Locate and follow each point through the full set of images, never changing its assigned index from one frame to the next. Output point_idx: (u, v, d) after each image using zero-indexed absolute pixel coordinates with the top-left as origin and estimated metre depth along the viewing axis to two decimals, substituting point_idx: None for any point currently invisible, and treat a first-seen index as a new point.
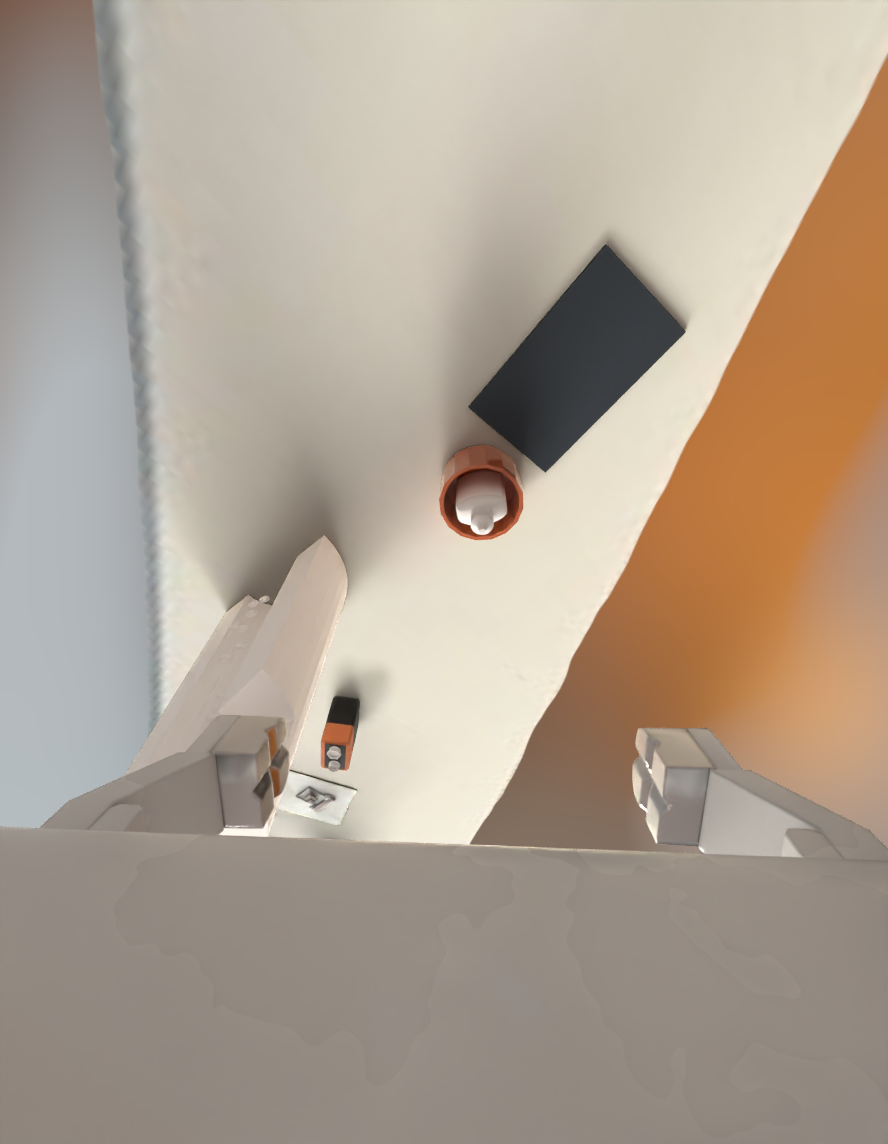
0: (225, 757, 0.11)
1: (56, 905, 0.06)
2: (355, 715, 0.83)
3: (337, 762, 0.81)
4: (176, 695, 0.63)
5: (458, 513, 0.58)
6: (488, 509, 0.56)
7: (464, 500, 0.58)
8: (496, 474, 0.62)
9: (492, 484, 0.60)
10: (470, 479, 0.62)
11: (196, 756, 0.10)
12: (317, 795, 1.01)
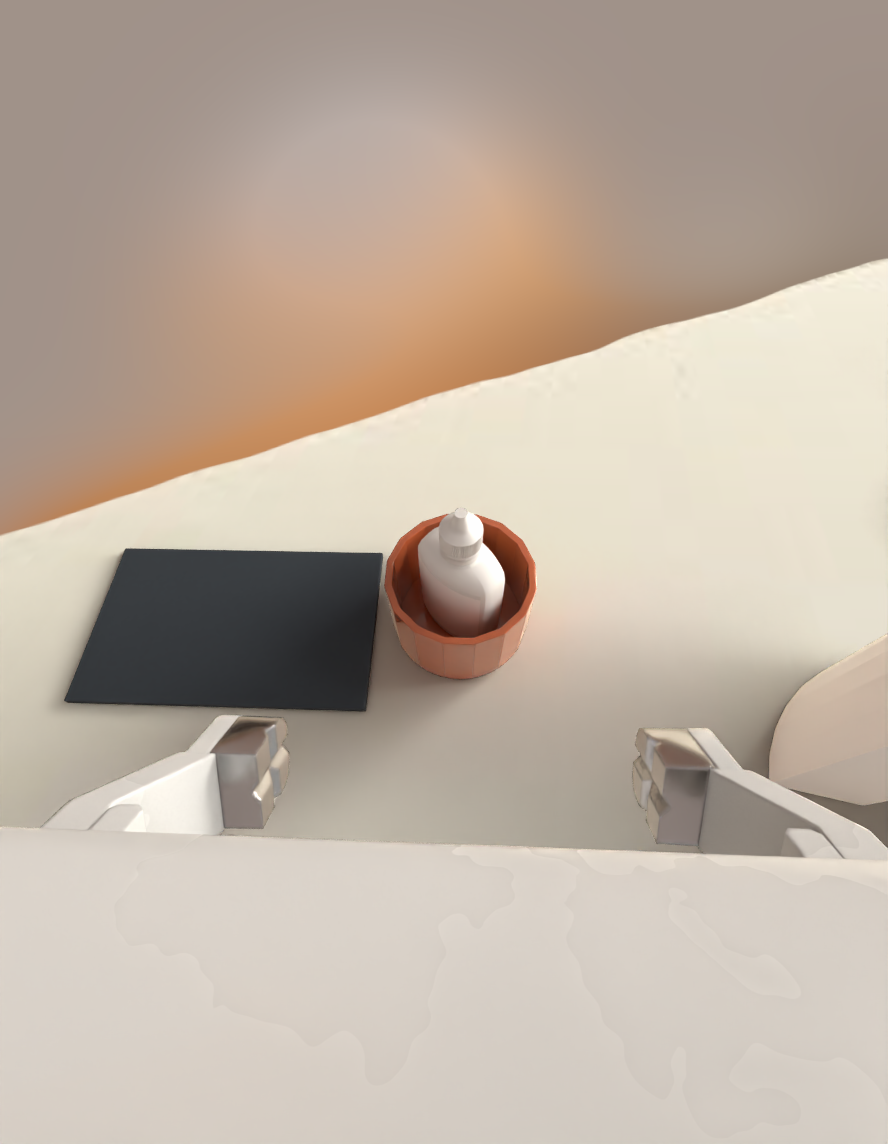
0: (225, 757, 0.11)
1: (56, 905, 0.06)
2: None
3: None
4: None
5: (490, 584, 0.30)
6: (440, 546, 0.30)
7: (465, 594, 0.31)
8: (424, 601, 0.37)
9: (426, 586, 0.34)
10: (455, 625, 0.35)
11: (196, 756, 0.10)
12: None
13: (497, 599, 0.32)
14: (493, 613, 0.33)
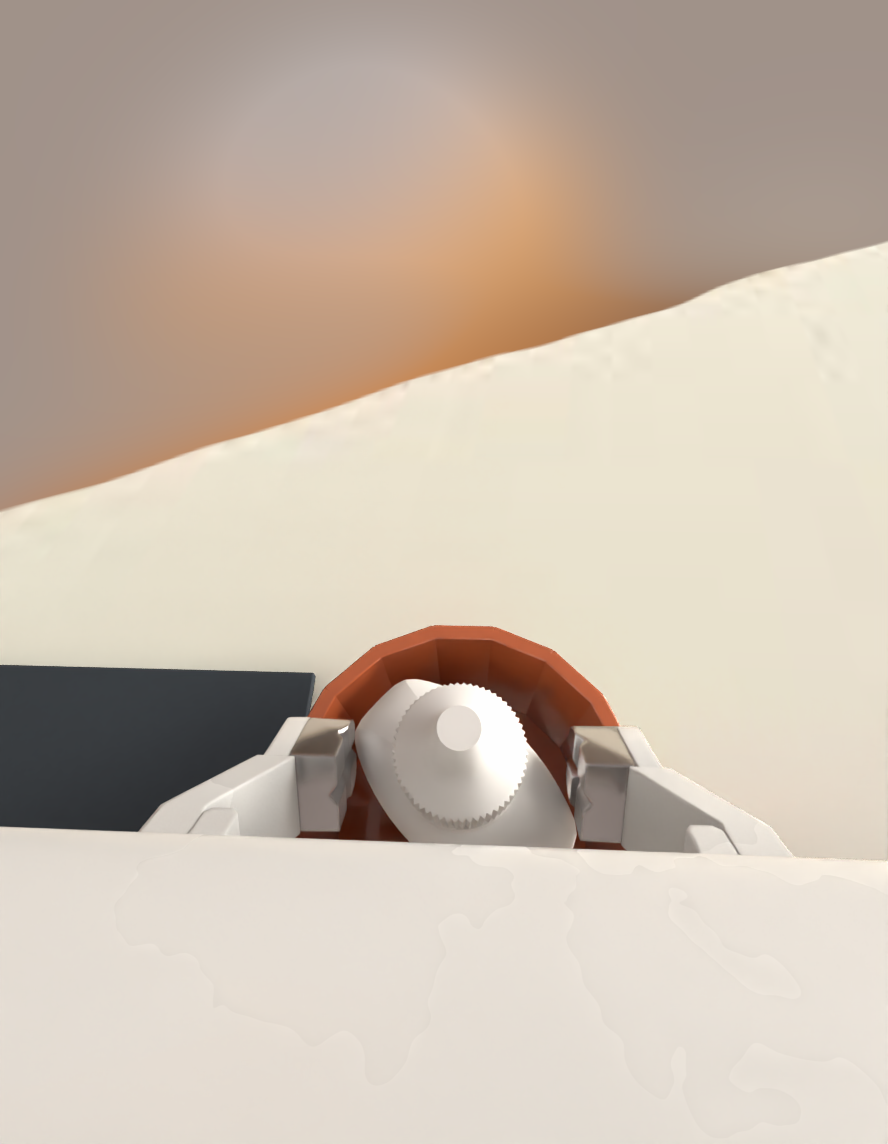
0: (304, 760, 0.11)
1: (56, 905, 0.06)
2: None
3: None
4: None
5: None
6: None
7: None
8: None
9: None
10: None
11: (276, 759, 0.10)
12: None
13: None
14: None
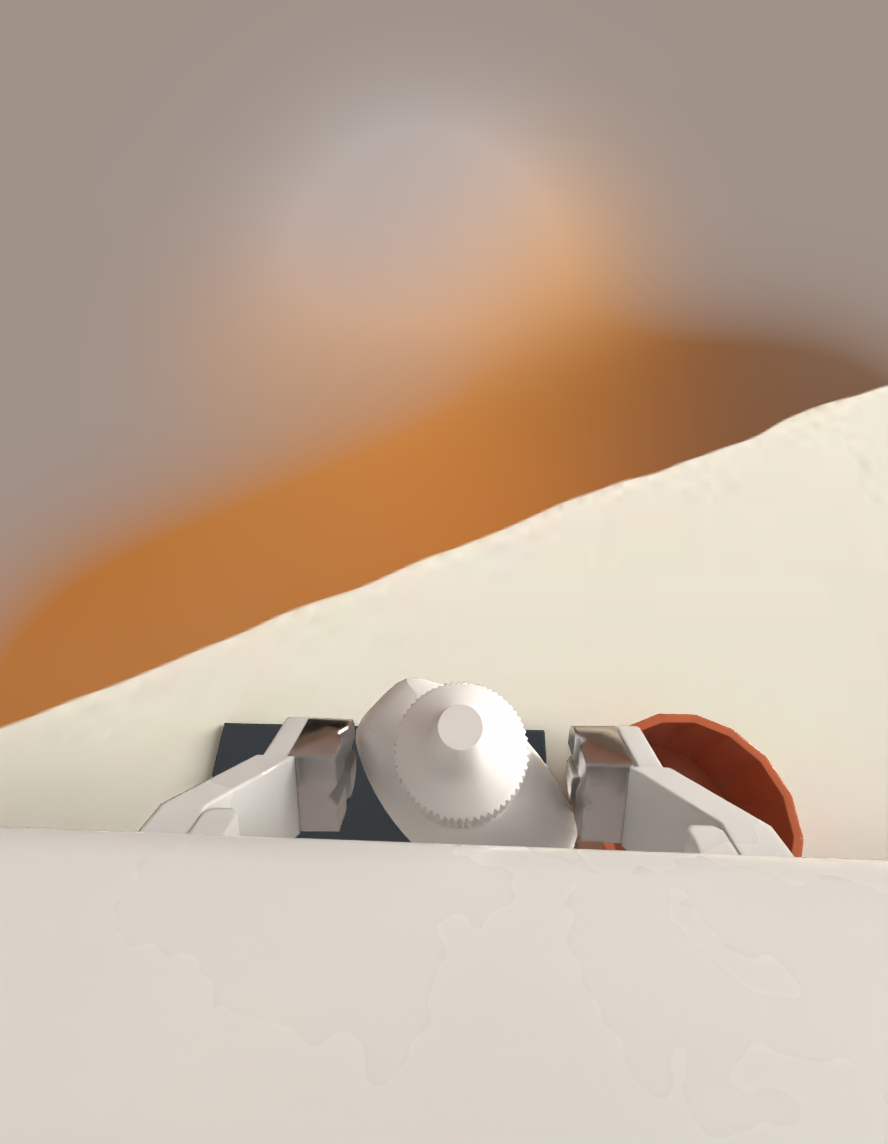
0: (303, 759, 0.11)
1: (56, 905, 0.06)
2: None
3: None
4: None
5: None
6: None
7: None
8: None
9: None
10: None
11: (276, 758, 0.10)
12: None
13: None
14: None
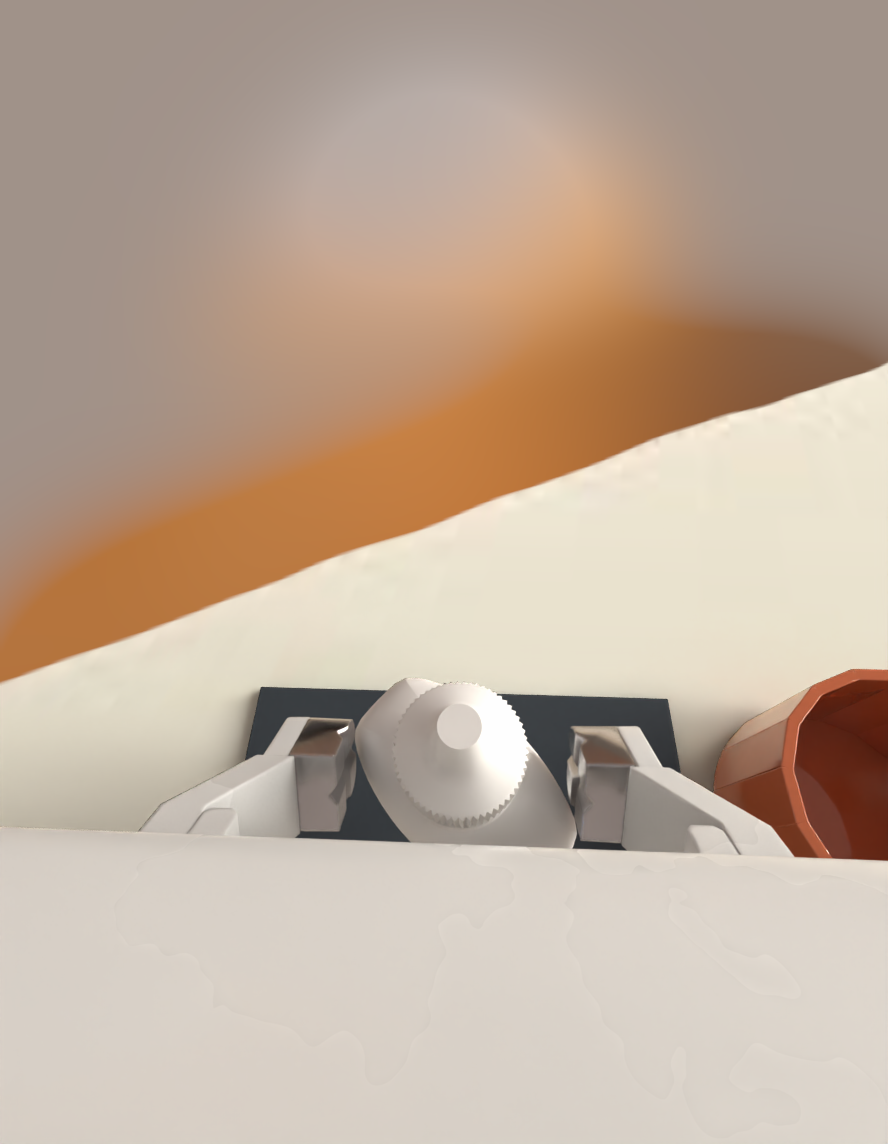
0: (303, 759, 0.11)
1: (56, 905, 0.06)
2: None
3: None
4: None
5: None
6: None
7: None
8: None
9: None
10: None
11: (276, 759, 0.10)
12: None
13: None
14: None
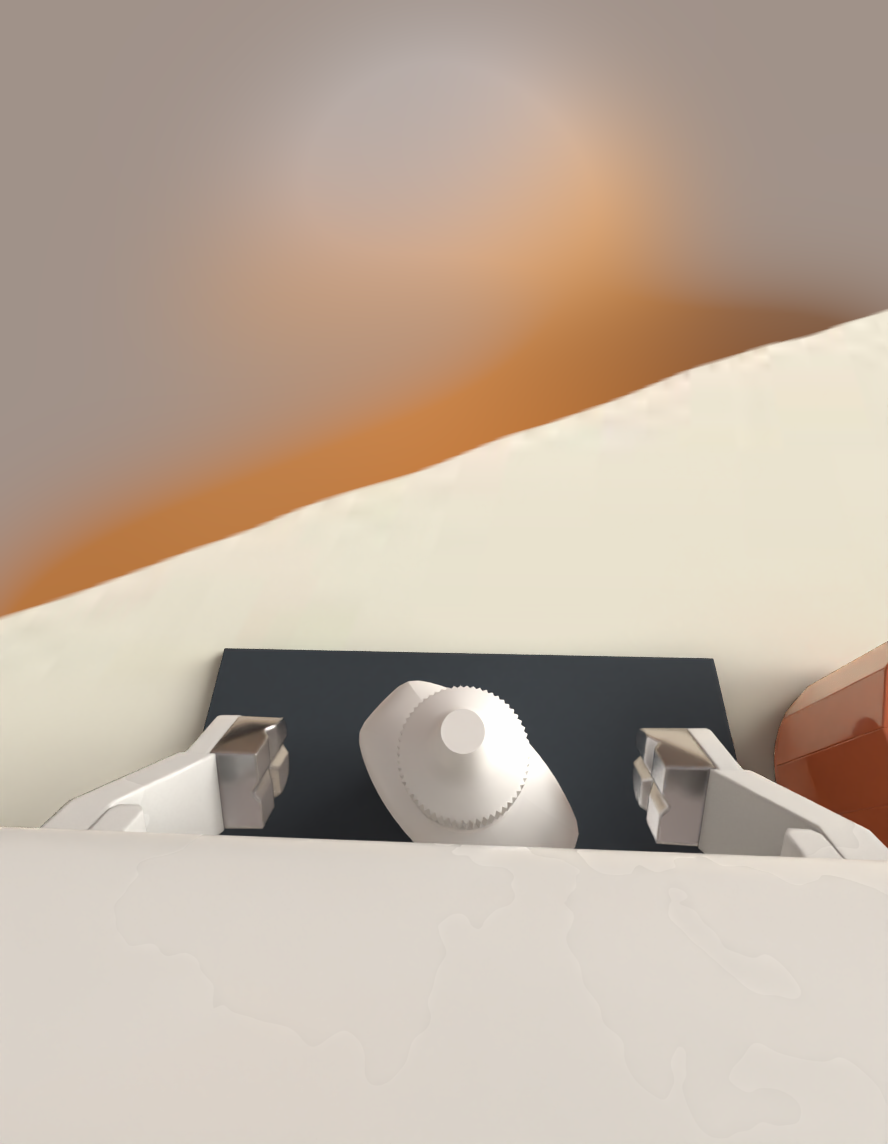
0: (225, 757, 0.11)
1: (56, 905, 0.06)
2: None
3: None
4: None
5: None
6: None
7: None
8: None
9: None
10: None
11: (196, 756, 0.10)
12: None
13: None
14: None
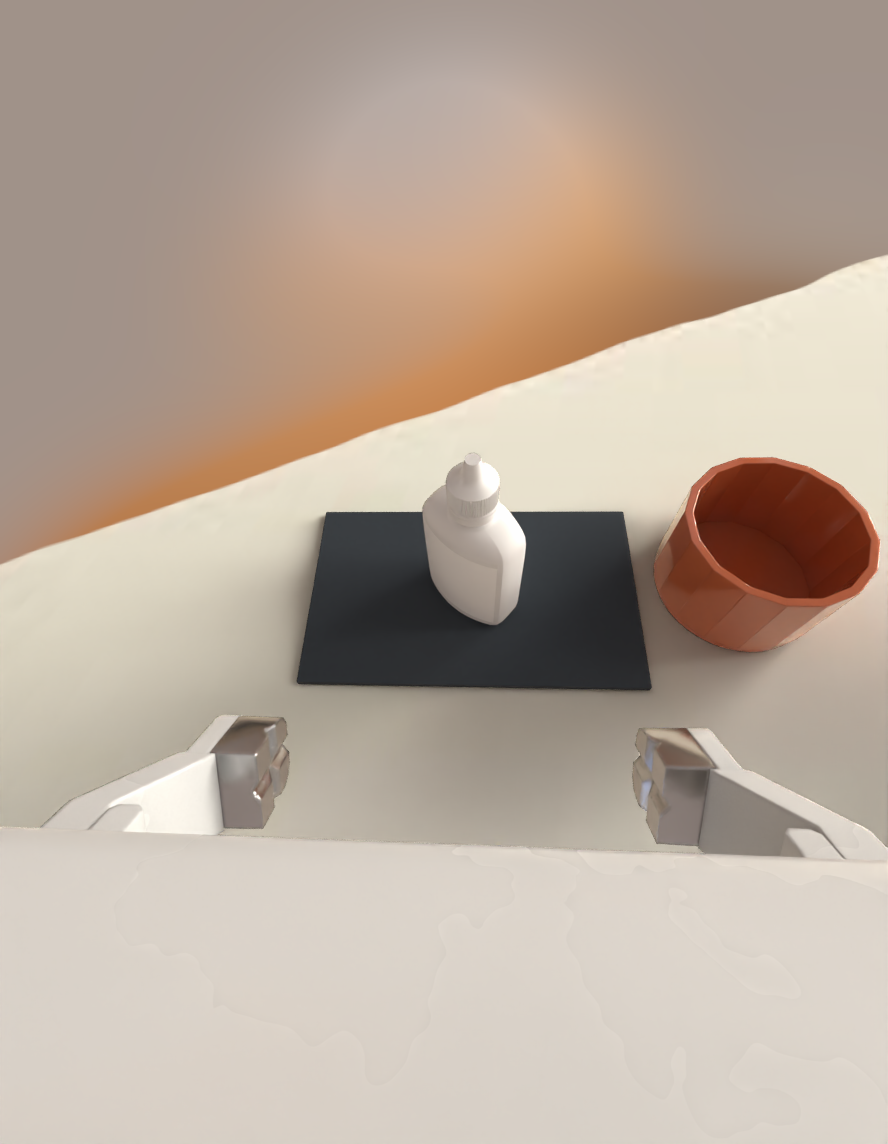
0: (225, 757, 0.11)
1: (56, 905, 0.06)
2: None
3: None
4: None
5: (509, 549, 0.25)
6: (448, 504, 0.25)
7: (478, 562, 0.26)
8: (432, 575, 0.32)
9: (434, 556, 0.29)
10: (467, 601, 0.30)
11: (196, 756, 0.10)
12: None
13: (517, 568, 0.27)
14: (512, 586, 0.28)
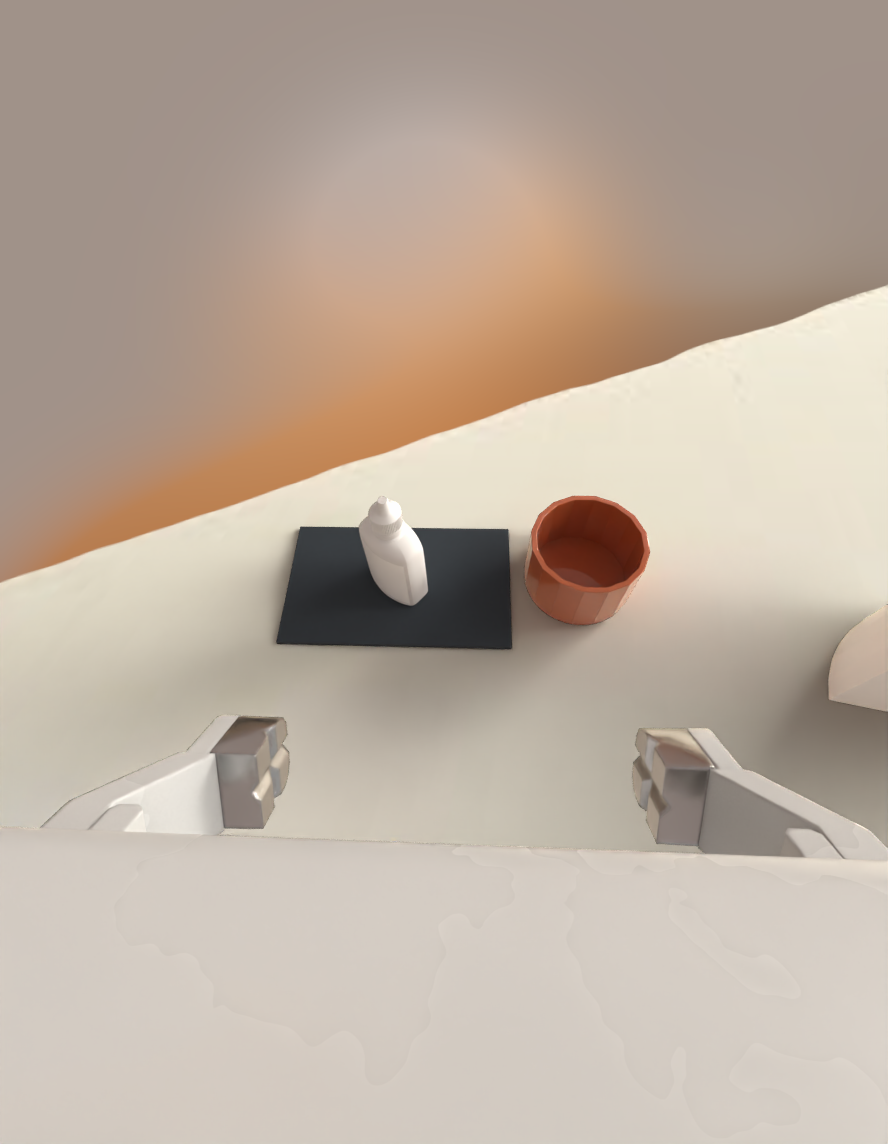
0: (225, 757, 0.11)
1: (56, 905, 0.06)
2: None
3: None
4: None
5: (410, 554, 0.40)
6: None
7: (391, 562, 0.41)
8: (370, 571, 0.47)
9: (368, 558, 0.44)
10: (391, 589, 0.45)
11: (196, 756, 0.10)
12: None
13: (419, 567, 0.42)
14: (418, 578, 0.43)
